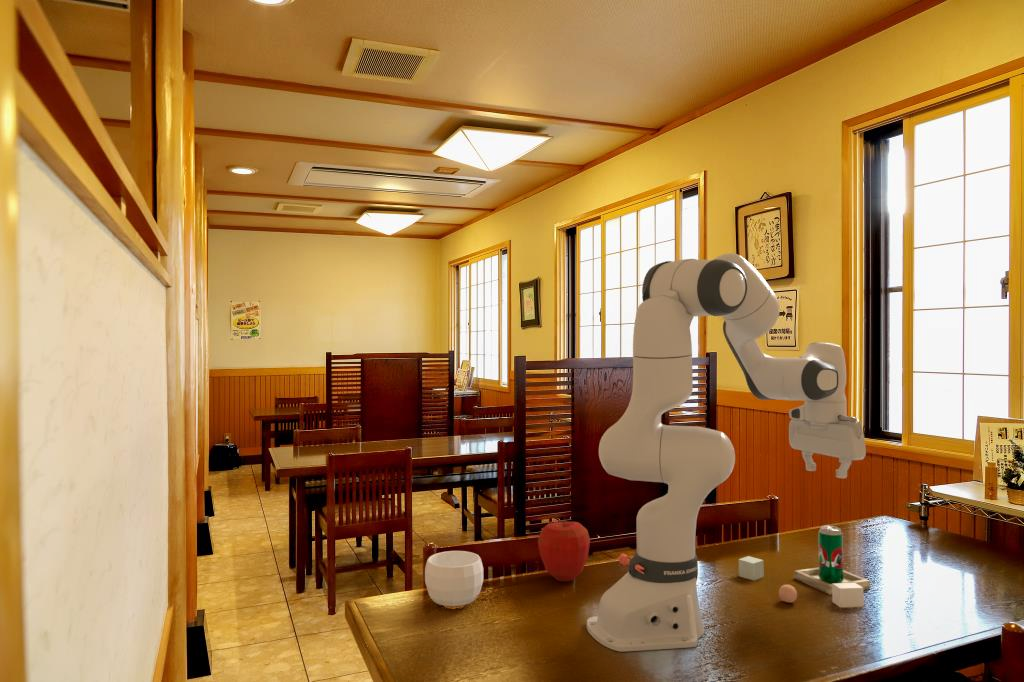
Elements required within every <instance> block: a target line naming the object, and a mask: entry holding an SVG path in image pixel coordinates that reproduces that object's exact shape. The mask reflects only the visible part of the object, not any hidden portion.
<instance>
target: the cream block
mask: <svg viewBox="0 0 1024 682" xmlns="http://www.w3.org/2000/svg"><path fill="white" fill-rule="evenodd" d="M832 603H833V604H835V605H836V606H837V607H839V608H864V590H863V587H861V586H860V585H858V584H856V583H832Z"/></svg>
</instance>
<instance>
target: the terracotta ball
mask: <svg viewBox="0 0 1024 682" xmlns="http://www.w3.org/2000/svg"><path fill="white" fill-rule="evenodd" d="M778 595H779V598H780V600H781V601H783V602H784V603H787V604H788V603H793V602H795V601H796V600H797V597H798V592H797V590H796V588H795V587H794V586H792V585H791V584H783V585H781V586H780V587H779V589H778Z"/></svg>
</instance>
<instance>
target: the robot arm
mask: <svg viewBox="0 0 1024 682" xmlns="http://www.w3.org/2000/svg"><path fill="white" fill-rule="evenodd" d="M641 293H642V295H641V297H642V298H641V299H642V302H641V303H640V304H639V305H638V308H636V309H637V310H636V313H635V318H634V325H633V336H632V364H633V365H632V366H633V367H632V371H633V372H632V392H631V396H630V400H629V403H628V406H627V407H626V410H625V411H624V413H623V415H622V416H621V417H620V418H619V419H618V421H616V422H615V423H614V424H612V425H611V426H610V427H608V428H607V429H606V431H605V432H604V433H603V435H602V436H601V438H600V440H599V444H598V445H599V446H598V458H599V461H600V463H601V466H602V468H603V469H604V470H605V472H606V473H607V474H608V475H611V476H614V477H617V478H621V479H626V480H629V481H640V482H641V481H642V482H652V483H664V484H666V485H668V487H667V488H668V489H667V493H666V494H665V495H663V496H661V497H658V498H655V499H652V500H651V501H648V502H647V503H645V504H644V505H642V507H641V508H640V509H639V510H638V512H637V515H636V551H634V554H633V556H632V557H631V556H629V555H627V554H626V553H621V554H620V555H619V556H618V562H619V563H620V565H623V566H624V567H628V569H627V570H628V571H627V573H625V574H624V575H623V576H622V577H621V578H620V579H618V580H617V582H615V583H614V584H613V585H611V587H609V588H608V589H607V590H606V591H604V593H603V594H602V595H601V597H600V600H599V605H598V609H597V610H598V611H597V615H595V616H591V617H588V618H587V620H586V630H587V632H588V633H589V635H590V636H592V638H593V639H594V640H595V641H597V642H598V643H599V644H601V645H602V646H604V647H605V648H608V649H610V650H612V651H616V652H637V651H639V652H640V651H650V650H651V651H652V650H653V651H654V650H656V651H657V650H668V649H683V648H685V649H686V648H687V649H688V648H694V647H697V646H698V643H699V639H700V638H701V637H703V635H704V634H705V630H706V629H705V626H704V623H703V619H702V614H701V610H700V605H699V596H698V589H697V588H698V587H697V580H698V575H699V572H698V571H699V568H698V566H699V565H698V555H697V554H696V532H697V531H696V530H697V519H698V515H699V511H700V509H701V506H702V504H703V502H704V501H705V499H706V498H707V497H708V495H710V493H711V492H712V491H713V490H715V488H716V487H718V486H719V485H720V484H722V483H724V482H725V481H726V480H727V479H728V478H729V477H730V476H731V474H732V472H733V470H734V467H735V463H736V453H735V451H736V450H735V449H734V445H733V443H732V441H731V439H730V438H729V437H728V435H726V434H725V433H724V432H723V431H719V430H716V429H711V428H709V427H702V426H695V425H694V426H693V425H691V426H690V425H689V426H688V425H667V424H663V423H662V415H663V414H664V413H666V412H668V411H671V410H674V409H675V408H677V407H679V406H681V405H682V404H684V403H686V402H687V401H688V400H689V398H690V397H691V395H692V393H693V389H694V387H693V383H694V382H693V380H694V379H693V378H694V377H693V347H692V345H693V344H692V333H691V328H690V327H691V324H692V322H693V319H694V317H708V316H709V317H710V316H713V317H722V318H723V324H722V331H723V332H722V333H723V336H724V339H725V341H726V342H727V345H728V346H729V348H730V351H731V352H732V354H733V356H734V357H735V360H736V361H737V363H738V365H739V367H740V369H741V371H742V372H743V376H744V378H745V380H746V381H745V382H746V384H747V387H748V389H749V391H750V393H752V395H753V396H754V397H755V398H756V399H758V400H761V401H772V400H773V401H775V400H779V401H780V400H782V401H794V402H795V401H800V402H804V403H803V404H802V405H800V406H797V407H794V408H791V409H789V410H788V416H789V418H790V421H789V424H788V441H789V442H788V443H789V445H790V447H791V448H792V449H794V450H799V451H801V456H802V459H803V460H804V463H805V470H806V471H810V472H816V471H817V463H816V462H814V459H813V455H814V454H818V455H824V456H829V457H834V458H838V462H839V463H840V465H839V467H838V469H835V477H836V478H838V479H847V477H848V471H849V469H850V466H851V465H852V461H861V460H864V459H865V457H866V454H867V452H866V451H867V450H866V449H867V448H866V441H865V440H866V439H865V434H864V430H863V425H862V423H861V421H860V420H859V419H858V418H857V417H855V416H848V413H847V411H848V410H847V409H848V408H847V404H848V403H847V401H848V400H847V396H846V391H845V388H846V386H847V367H846V366H847V363H846V359H845V358H846V357H845V356H846V355H845V352H844V349H843V347H842V346H841V345H838V344H836V343H831V342H824V341H823V342H821V341H819V342H816V341H815V342H812V343H811V342H810V343H809V344H807V346H806V350H805V352H804V353H803V354H802V355H799V356H798V357H775V356H771V355H768V354H765V353H764V352H763V350H762V349H761V347H760V345H759V343H758V340H757V339H760V338H762V337H763V336H765V335H767V333H768V332H770V331H771V330H772V329H773V327H774V326H775V325H776V323H777V321H778V319H779V316H780V312H781V307H780V302H779V299H778V297H777V295H776V294H775V292H774V290H773V288H771V286H770V285H769V283H768V282H767V281H766V280H765V278H764V277H763V276H762V274H761V273H760V272H759V271H758V270H757V269H756V268H755V267H754V266H753V265H752V264H751V263H750V262H749V261H748V260H747V259H745V258H744V257H743V256H742V255H740V254H737V253H732V252H731V253H724V254H721V255H718V256H717V257H715V258H713V259H696V258H685V259H678V260H673V261H672V260H671V261H670V260H667V261H663V262H660V263H657V264H655V265H653V266H652V267H650V268H649V270H647V272H646V274H645V276H644V279H643V282H642V288H641Z"/></svg>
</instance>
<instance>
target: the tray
mask: <svg viewBox="0 0 1024 682" xmlns="http://www.w3.org/2000/svg"><path fill="white" fill-rule="evenodd" d="M793 575H794V577H793V578H794V580H797V581H799V582H802V583H804V584H806V585H808V586H810V587H812V588H815V589H816V590H819V591H821V592H823V593H825V594H828V595H830V596H831V595H832V584H830V583H826V582H824V581H822V580H821V579H820V578H819V566H818V567H812V568H805V569H796V570H794V574H793ZM841 583H856V584H858V585H860V586H861V587H863V591H865V590H870V589H871V581H870V580H869V579H866V578H864V577H862V576H860V575H858V574H854V573H851V572H849V571H847V570H845V569H843V581H842V582H841Z"/></svg>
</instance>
